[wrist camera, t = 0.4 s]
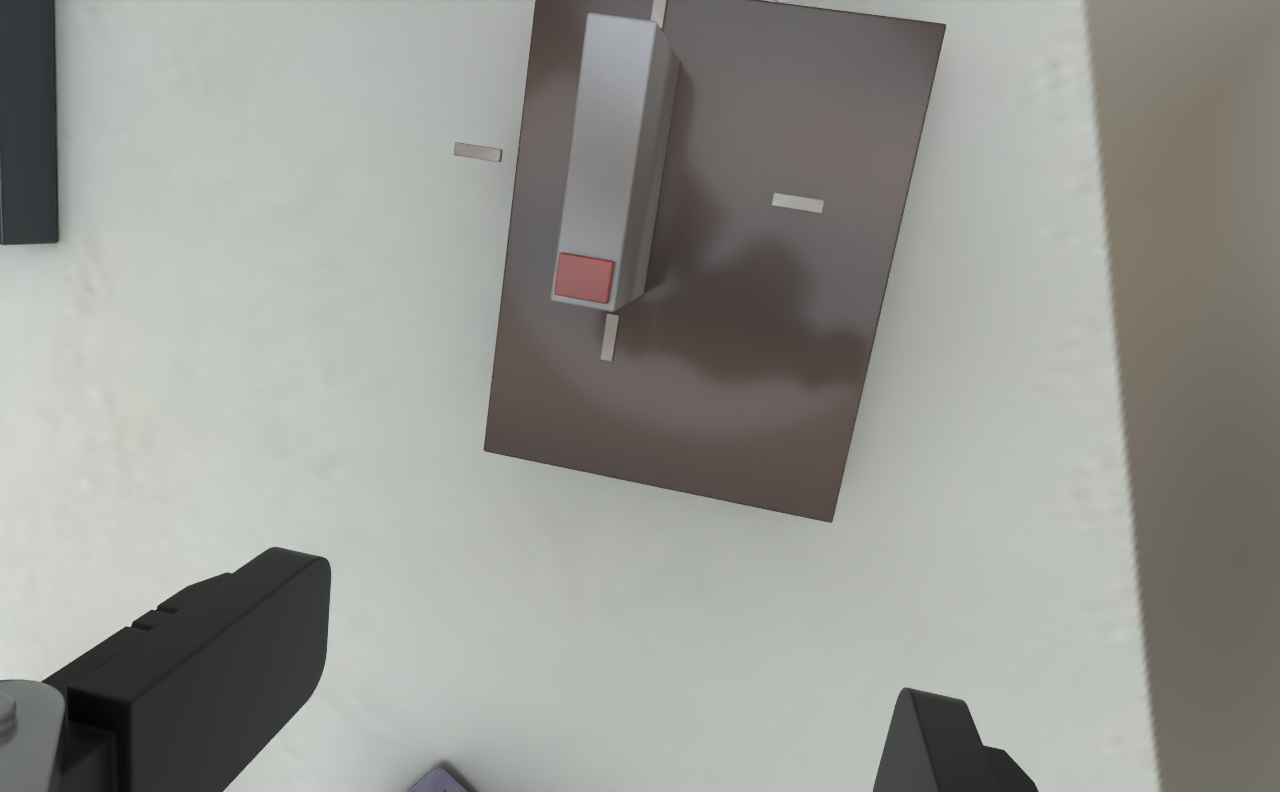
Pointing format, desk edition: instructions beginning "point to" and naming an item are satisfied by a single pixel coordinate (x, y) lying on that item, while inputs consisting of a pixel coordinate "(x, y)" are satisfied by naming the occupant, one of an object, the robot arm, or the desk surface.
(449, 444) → the desk surface
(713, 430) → the panel
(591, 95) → the tap handle
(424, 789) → the cake pan box
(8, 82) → the button block
